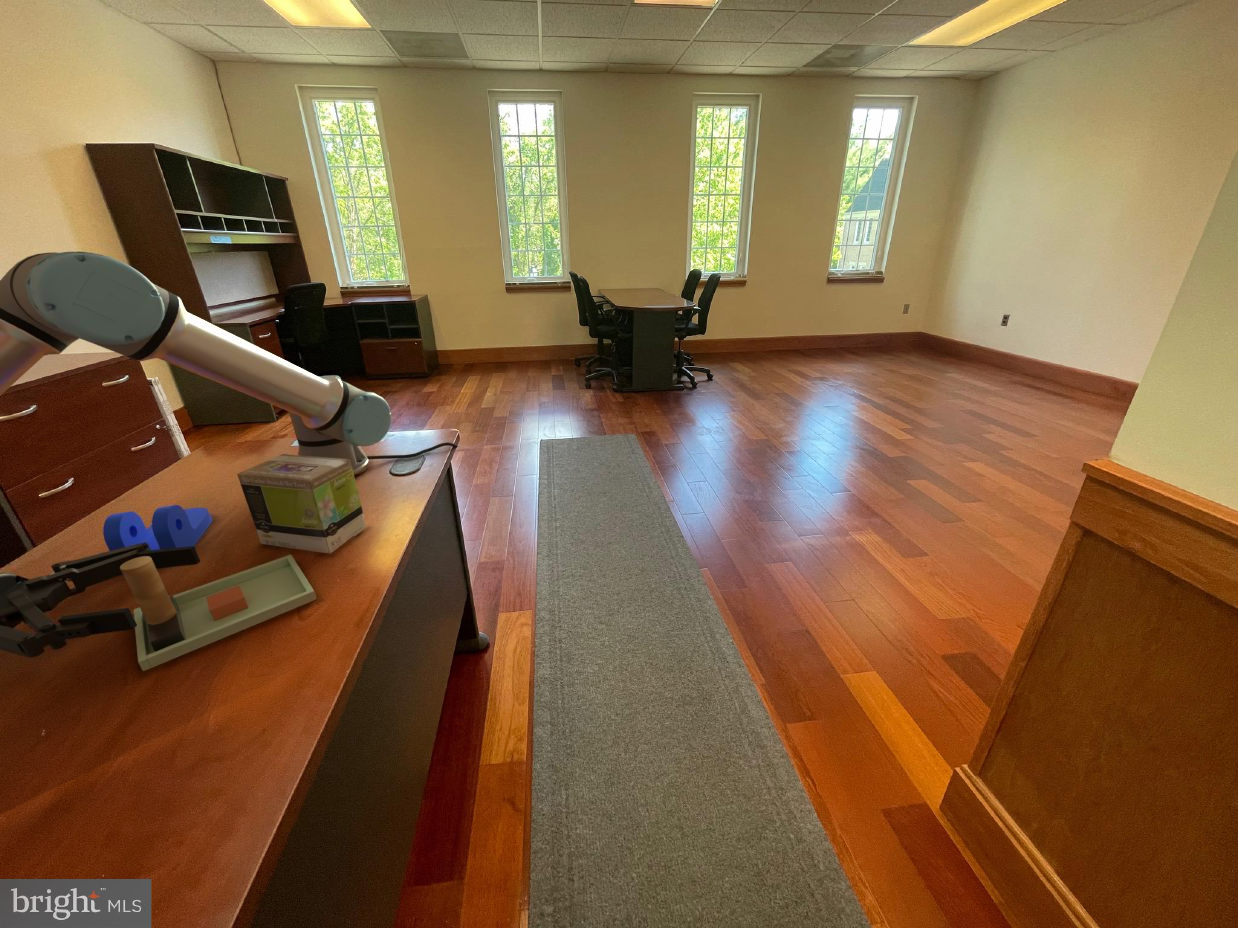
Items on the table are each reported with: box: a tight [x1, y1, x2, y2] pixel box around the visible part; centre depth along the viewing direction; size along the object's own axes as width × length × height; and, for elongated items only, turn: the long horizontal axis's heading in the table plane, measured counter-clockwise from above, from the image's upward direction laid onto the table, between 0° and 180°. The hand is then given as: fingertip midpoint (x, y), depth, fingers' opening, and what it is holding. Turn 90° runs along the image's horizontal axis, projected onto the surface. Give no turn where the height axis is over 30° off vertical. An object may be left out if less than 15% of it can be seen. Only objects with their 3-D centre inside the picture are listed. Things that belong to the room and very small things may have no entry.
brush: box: [120, 556, 186, 652], centre depth 64 cm, size 3×10×12 cm, turn 45°
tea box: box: [236, 453, 367, 554], centre depth 87 cm, size 15×10×15 cm, turn 78°
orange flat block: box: [206, 585, 248, 621], centre depth 70 cm, size 4×4×2 cm
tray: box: [133, 554, 317, 672], centre depth 70 cm, size 20×14×2 cm
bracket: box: [102, 504, 213, 551], centre depth 86 cm, size 18×8×9 cm, turn 22°
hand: (166, 583), depth 63 cm, fingers open, 13 cm apart
